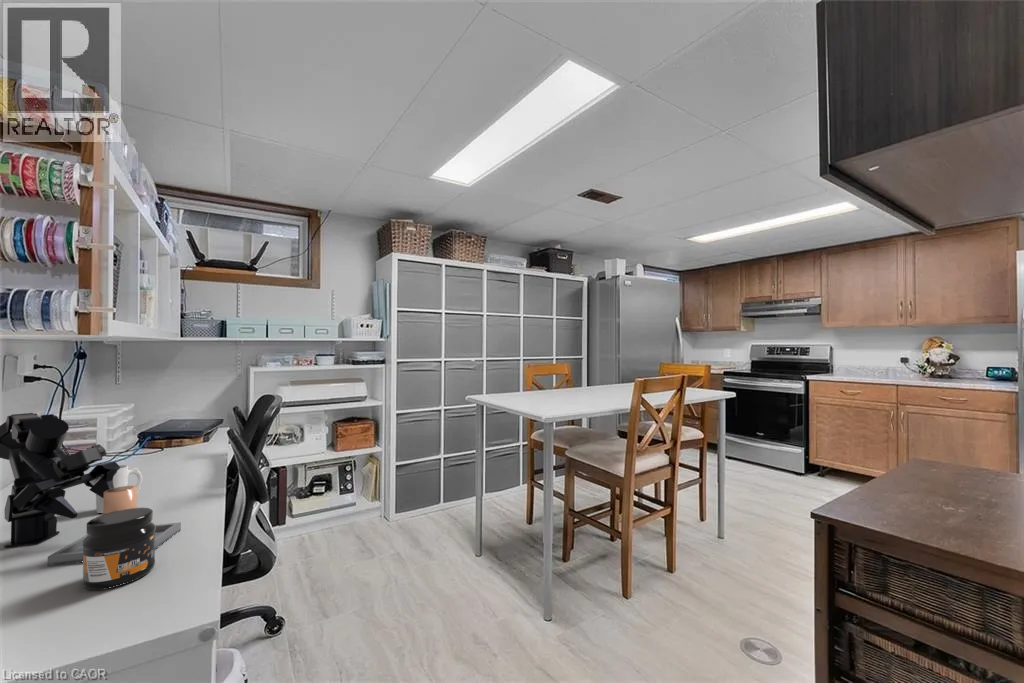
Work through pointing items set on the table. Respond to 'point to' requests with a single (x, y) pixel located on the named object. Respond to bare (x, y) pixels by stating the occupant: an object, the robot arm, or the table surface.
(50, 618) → the table surface
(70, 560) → the charcoal tray
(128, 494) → the terracotta cup
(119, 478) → the mug
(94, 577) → the supplement container
